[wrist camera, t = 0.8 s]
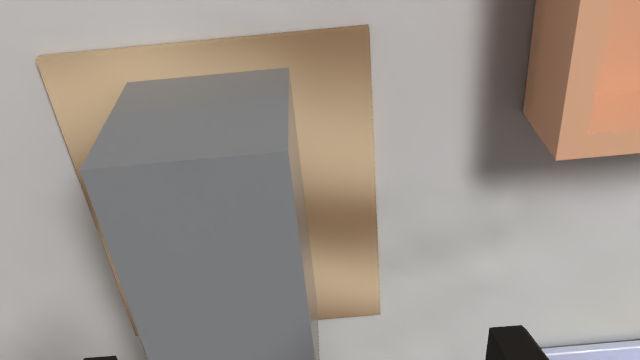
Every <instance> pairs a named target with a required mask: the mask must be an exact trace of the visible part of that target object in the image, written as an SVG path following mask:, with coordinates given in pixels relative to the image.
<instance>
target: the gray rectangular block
mask: <svg viewBox="0 0 640 360" xmlns="http://www.w3.org/2000/svg"><path fill="white" fill-rule="evenodd" d="M80 173H81V175H82V178H83V181H84V184H85V186H86V189H87V192H88V195H89V198H90V200H91V203H92V206H93V209H94V212H95V214H96V217H97V220H98V223H99V225H100V228H101V231H102V234H103V237H104V239H105V242H106V245H107V248H108V250H109V253H110V256H111V259H112V262H113V264H114V267H115V270H116V273H117V275H118V278H119V281H120V284H121V287H122V289H123V292H124V295H125V298H126V300H127V303H128V306H129V309H130V312H131V314H132V317H133V320H134V323H135V325H136V328H137V331H138V334H139V337H140V339H141V342H142V345H143V348H144V351H145V353H146V356H147V359H148V360H320V356H319V335H318V313H317V298H316V290H315V281H314V273H313V264H312V256H311V248H310V239H309V231H308V222H307V214H306V206H305V197H304V189H303V180H302V172H301V164H300V155H299V147H298V138H297V130H296V122H295V113H294V105H293V96H292V88H291V80H290V71H289V67H287V68H276V69H266V70H255V71H244V72H233V73H223V74H212V75H201V76H190V77H179V78H169V79H158V80H147V81H136V82H127V83H126V85H125V87H124V89H123V91H122V93H121V94H120V96H119V98H118V100H117V102H116V104H115V106H114V107H113V109H112V111H111V113H110V115H109V117H108V118H107V120H106V122H105V124H104V126H103V128H102V129H101V131H100V133H99V135H98V137H97V139H96V141H95V142H94V144H93V146H92V148H91V150H90V152H89V153H88V155H87V157H86V159H85V161H84V163H83V165H82V166H81V168H80Z"/></svg>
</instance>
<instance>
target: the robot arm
mask: <svg viewBox="0 0 640 360" xmlns="http://www.w3.org/2000/svg"><path fill="white" fill-rule="evenodd" d="M83 360H117V357H116V356H107V357H94V358H84V359H83ZM486 360H640V340H635V341H624V342H612V343H600V344H589V345H577V346H565V347H554V348H542V349H541V348H540V347H539V346H538V344H537V343H536V342H535V340H534V339H533V338H532V336H531V335H530V334H529V332H528V331H527V330H526V329H525V328H524V327H523V326H522V325H519V326H506V327H493V328H489V336H488V344H487V352H486Z"/></svg>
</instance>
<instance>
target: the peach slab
mask: <svg viewBox="0 0 640 360" xmlns="http://www.w3.org/2000/svg"><path fill="white" fill-rule="evenodd" d="M523 114H524V115H525V117H526V118H527V120H528V121H529V123H530V124H531V126H532V127H533V129H534V130H535V131H536V133H537V134H538V136H539V137H540V139H541V140H542V142H543V143H544V145H545V146H546V148H547V149H548V150H549V152H550V153H551V155H552V156H553V158H554V159H555V161H558V160H569V159H580V158H591V157H602V156H614V155H625V154H636V153H640V0H536V3H535V12H534V20H533V29H532V38H531V47H530V55H529V64H528V73H527V81H526V90H525V99H524V108H523Z"/></svg>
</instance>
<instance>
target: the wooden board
mask: <svg viewBox="0 0 640 360" xmlns="http://www.w3.org/2000/svg"><path fill="white" fill-rule="evenodd" d="M35 60H36V62H37V65H38V68H39V71H40V73H41V76H42V79H43V82H44V84H45V87H46V90H47V93H48V95H49V98H50V101H51V104H52V106H53V109H54V112H55V115H56V117H57V120H58V123H59V126H60V128H61V131H62V134H63V137H64V139H65V142H66V145H67V148H68V150H69V153H70V156H71V159H72V161H73V164H74V167H75V170H76V172H77V175H78V178H79V181H80V183H81V186H82V189H83V192H84V194H85V197H86V200H87V202H88V205H89V208H90V211H91V213H92V216H93V219H94V222H95V224H96V227H97V230H98V233H99V235H100V238H101V241H102V244H103V246H104V249H105V252H106V255H107V257H108V260H109V263H110V266H111V268H112V271H113V274H114V277H115V279H116V282H117V285H118V288H119V290H120V293H121V296H122V299H123V301H124V304H125V307H126V310H127V312H128V315H129V318H130V321H131V323H132V326H133V329H134V332H135V334H136V336H137V335H139V334H138V331H137V328H136V325H135V323H134V320H133V317H132V314H131V312H130V309H129V306H128V303H127V300H126V298H125V295H124V292H123V289H122V287H121V284H120V281H119V278H118V275H117V273H116V270H115V267H114V264H113V262H112V259H111V256H110V253H109V250H108V248H107V245H106V242H105V239H104V237H103V234H102V231H101V228H100V225H99V223H98V220H97V217H96V214H95V212H94V209H93V206H92V203H91V200H90V198H89V195H88V192H87V189H86V186H85V184H84V181H83V178H82V175H81V173H80V168H81V166H82V165H83V163H84V161H85V159H86V157H87V155H88V153H89V152H90V150H91V148H92V146H93V144H94V142H95V141H96V139H97V137H98V135H99V133H100V131H101V129H102V128H103V126H104V124H105V122H106V120H107V118H108V117H109V115H110V113H111V111H112V109H113V107H114V106H115V104H116V102H117V100H118V98H119V96H120V94H121V93H122V91H123V89H124V87H125V85H126V83H127V82H136V81H147V80H158V79H169V78H179V77H190V76H201V75H212V74H223V73H233V72H244V71H255V70H266V69H276V68H287V67H289V71H290V80H291V88H292V96H293V105H294V113H295V122H296V130H297V138H298V147H299V155H300V164H301V172H302V180H303V189H304V197H305V206H306V214H307V222H308V231H309V239H310V248H311V256H312V264H313V273H314V281H315V290H316V298H317V313H318V320H321V319H332V318H344V317H355V316H367V315H378V314H380V290H379V264H378V239H377V213H376V187H375V162H374V136H373V111H372V85H371V60H370V34H369V26H368V25H359V26H348V27H338V28H327V29H316V30H306V31H295V32H284V33H274V34H263V35H252V36H242V37H231V38H220V39H210V40H199V41H188V42H178V43H167V44H156V45H146V46H135V47H124V48H114V49H103V50H92V51H82V52H71V53H60V54H50V55H39V56H38V57H37V58H36V59H35Z"/></svg>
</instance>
